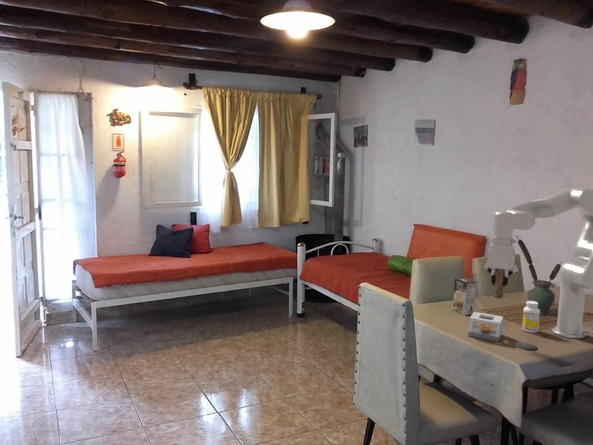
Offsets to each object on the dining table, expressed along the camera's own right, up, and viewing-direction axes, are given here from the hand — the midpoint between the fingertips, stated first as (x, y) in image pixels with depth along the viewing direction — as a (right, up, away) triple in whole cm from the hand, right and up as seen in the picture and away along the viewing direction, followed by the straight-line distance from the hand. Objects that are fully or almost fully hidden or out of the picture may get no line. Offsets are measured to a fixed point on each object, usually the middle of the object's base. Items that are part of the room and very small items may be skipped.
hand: (499, 284), depth 215 cm
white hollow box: (-4, -22, +6) cm, 23 cm away
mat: (+9, -24, -7) cm, 27 cm away
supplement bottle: (+19, -22, +14) cm, 32 cm away
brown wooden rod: (0, -5, +1) cm, 5 cm away
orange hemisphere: (-4, -20, +5) cm, 21 cm away
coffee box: (-2, -18, +39) cm, 43 cm away
